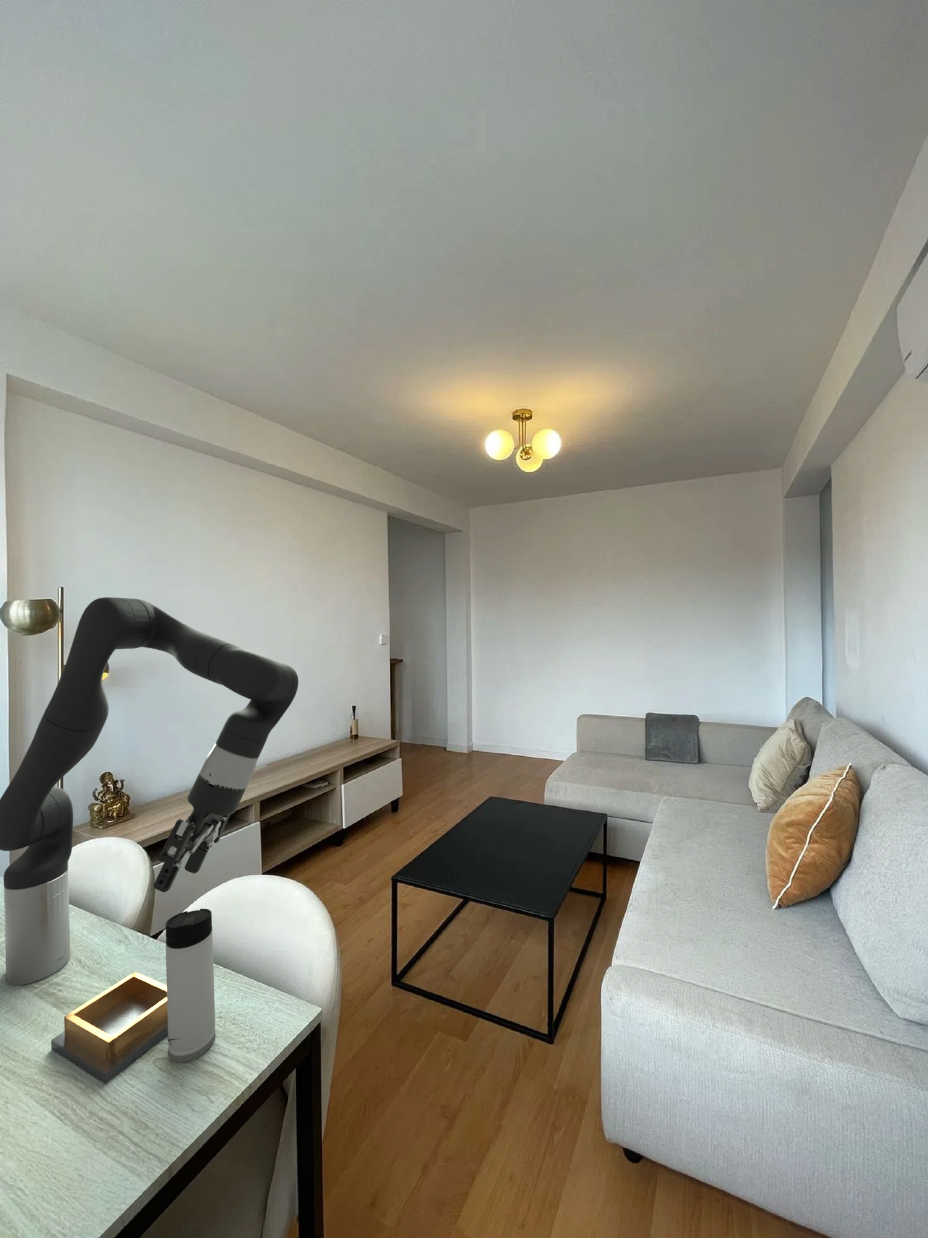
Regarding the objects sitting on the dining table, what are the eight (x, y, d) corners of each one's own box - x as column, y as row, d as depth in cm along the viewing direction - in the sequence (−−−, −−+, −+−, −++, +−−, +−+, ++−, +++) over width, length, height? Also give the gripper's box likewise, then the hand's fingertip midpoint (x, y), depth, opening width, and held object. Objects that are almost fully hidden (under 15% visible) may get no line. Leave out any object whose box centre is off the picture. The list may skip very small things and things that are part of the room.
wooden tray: (51, 1050, 75) (50, 1020, 75) (139, 991, 87) (138, 965, 87) (105, 1084, 69) (104, 1052, 69) (191, 1016, 81) (191, 988, 81)
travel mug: (161, 1071, 71) (158, 931, 71) (175, 1034, 77) (172, 906, 77) (209, 1059, 73) (206, 923, 73) (219, 1024, 79) (215, 899, 79)
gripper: (223, 764, 86) (179, 857, 83) (179, 774, 72) (124, 886, 69) (262, 780, 86) (219, 875, 83) (226, 793, 72) (172, 907, 69)
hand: (176, 880), depth 76 cm, fingers open, 8 cm apart
